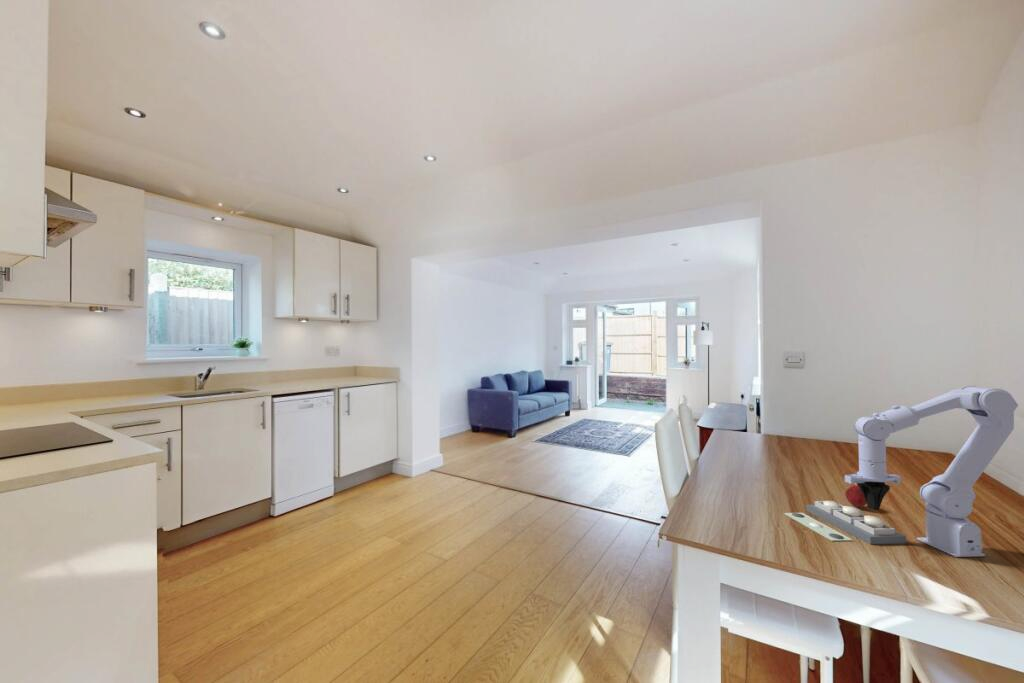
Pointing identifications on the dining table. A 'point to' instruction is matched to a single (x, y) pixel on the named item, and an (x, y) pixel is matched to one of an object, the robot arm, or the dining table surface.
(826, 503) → the button far
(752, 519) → the dining table surface
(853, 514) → the button middle
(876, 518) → the button near
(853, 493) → the onion
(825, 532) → the card
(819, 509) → the button board
